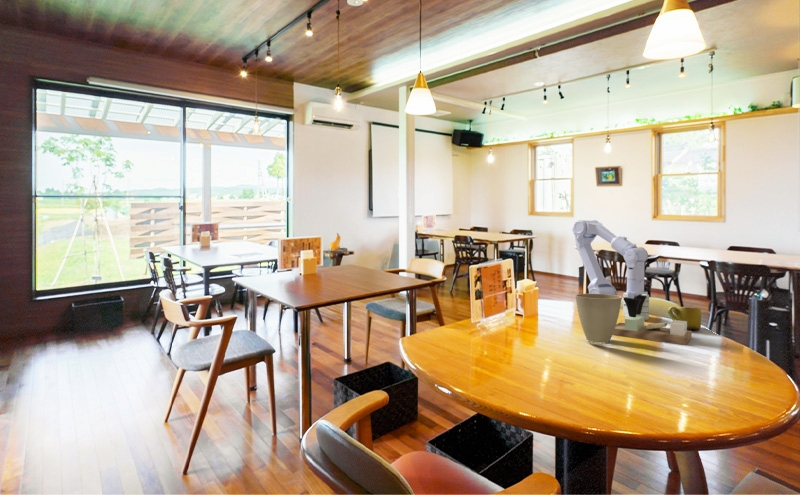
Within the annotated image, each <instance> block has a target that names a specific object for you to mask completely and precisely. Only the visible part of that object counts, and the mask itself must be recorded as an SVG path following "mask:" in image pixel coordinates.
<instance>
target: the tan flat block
mask: <svg viewBox="0 0 800 495" xmlns="http://www.w3.org/2000/svg"><path fill="white" fill-rule="evenodd" d="M645 326H646V329H652V328H661V327H662V328H667V326H668V322H667V321H665V322H664V321H663V322H657V323H649V324H647V325H645Z"/></svg>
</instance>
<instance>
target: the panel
mask: <svg viewBox="0 0 800 495" xmlns="http://www.w3.org/2000/svg"><path fill="white" fill-rule="evenodd" d="M646 326H647V325H646V324H644V327H642V328H641V329H640V330H638V331H630V330H625V322H617V323H616V326H615V329H614V332H613V335H612V336H618V337H626V338H633V339H639V340H646V341H647V340H648V341H655V342H661V343H668V344H669V343H670V344H677V345H684V346H687V345H688V343H690V341H691V339H692V336H693V335H692V334H693V333H692V332H693V331H692V330H687V333H686V334H685V335H684V336H678V335H670V327H669V328H667V327H661V328H652V329H646Z"/></svg>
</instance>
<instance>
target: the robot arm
mask: <svg viewBox="0 0 800 495" xmlns="http://www.w3.org/2000/svg"><path fill="white" fill-rule="evenodd" d="M571 230H572V232H573V235H574V242H575V246H576V248H577V251H578V254H579V256H580V258H581V261H582V264H583V267H584V269H585V271H586V274H587V276H588V279H589V281H590V282H589V284H588V286H587V289H588V294H609V295H616V296H618V292H617V289H616V288H615V287H614V286H613V284H612V283H611V281H609V280H608V279H606V278H605V276H604V273H603V271H602V268H601V266H600V263H599V261H598V259H597V256H596V254H595V252H594V250H593V247H592V245H591V244H592V242H593V241H594V240H595V239H596V237H597V236H599V237H600V238H602V240H604V241H606V242H607V243H610V248H611V249H613V250H614V251H615V252H617V253H618V254H619V255H621V256H622V257H623V259H624V261H625V263H626V264H625V265H626V291H625V293H627V294H628V297H624V301H625V303H626V305H627V309H628V314H629V317H636V315H637V314H638V315H640V314H641V311H642V307H643V303H644V301H645V299H646V297H647V296H642V294H646V295H649V294H648V293H649V292H648V291H645V262H646V261H648V259H649V253H648V251H647V250H646V249H645V247H643V246H641V247H640V246H639V247H638V246H637V244H636V243H632V242H631V241H630V240H628V238H627V237H626V236H617V235H615V234H614V233H613V232H611V231H610V230H609V229H608V228H606V227H605V226H604V225H603V223H601V222H600V221H598V220H595V219H594V220H582V219H577V220H576V221H574V224H573V227H572V229H571Z"/></svg>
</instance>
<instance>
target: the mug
mask: <svg viewBox="0 0 800 495" xmlns="http://www.w3.org/2000/svg"><path fill="white" fill-rule="evenodd" d="M667 314H668V315H669V317H670V318H671V319H672V321H673V320H679V321H687V330H695V331H700V329H701V326H702V309H700V308H699V307H691V306H679V307H676V306H669V307H668V309H667Z"/></svg>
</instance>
